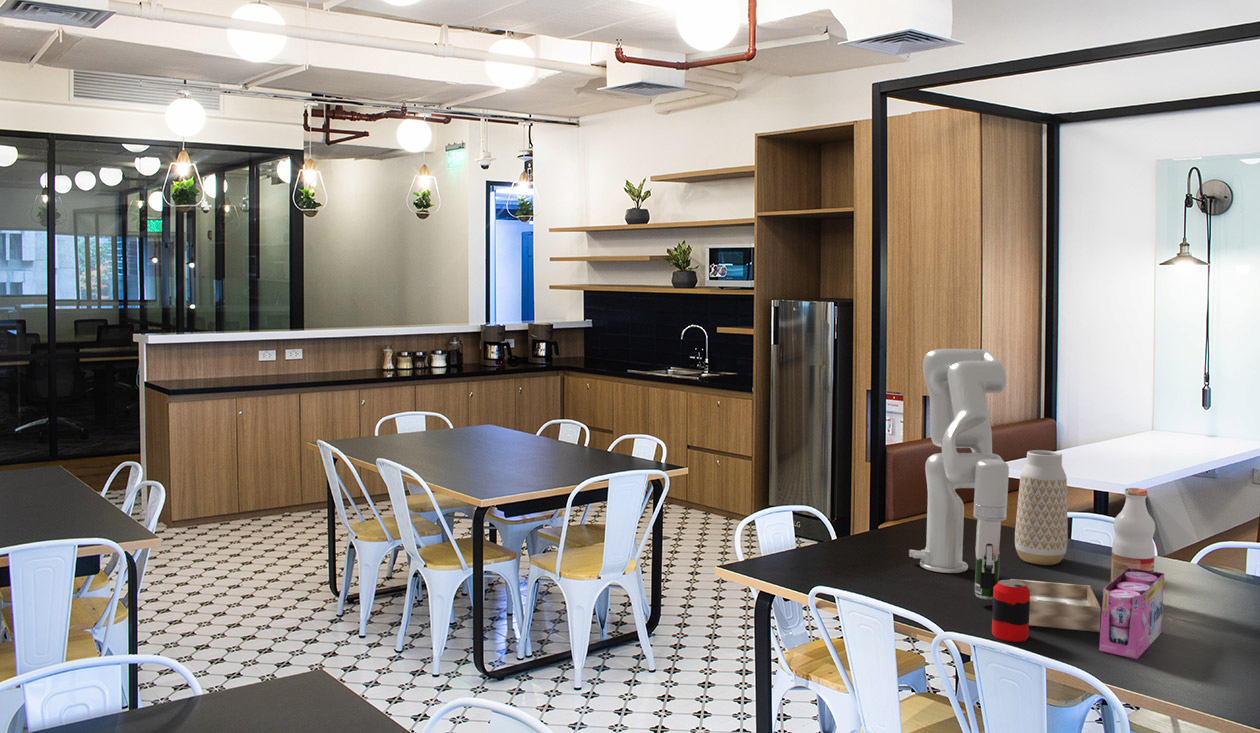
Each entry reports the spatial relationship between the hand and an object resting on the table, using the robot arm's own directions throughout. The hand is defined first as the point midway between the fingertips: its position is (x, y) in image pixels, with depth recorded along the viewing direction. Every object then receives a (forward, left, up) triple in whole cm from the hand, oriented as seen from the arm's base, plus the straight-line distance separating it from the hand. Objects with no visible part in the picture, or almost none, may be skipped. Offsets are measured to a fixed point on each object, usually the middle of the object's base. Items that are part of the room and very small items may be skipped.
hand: (986, 583), depth 252 cm
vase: (+16, +48, -6) cm, 51 cm away
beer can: (0, 0, -3) cm, 3 cm away
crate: (+15, -3, -5) cm, 16 cm away
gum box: (+30, -17, -6) cm, 34 cm away
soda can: (+4, -22, -6) cm, 23 cm away
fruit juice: (+34, +14, -6) cm, 37 cm away
